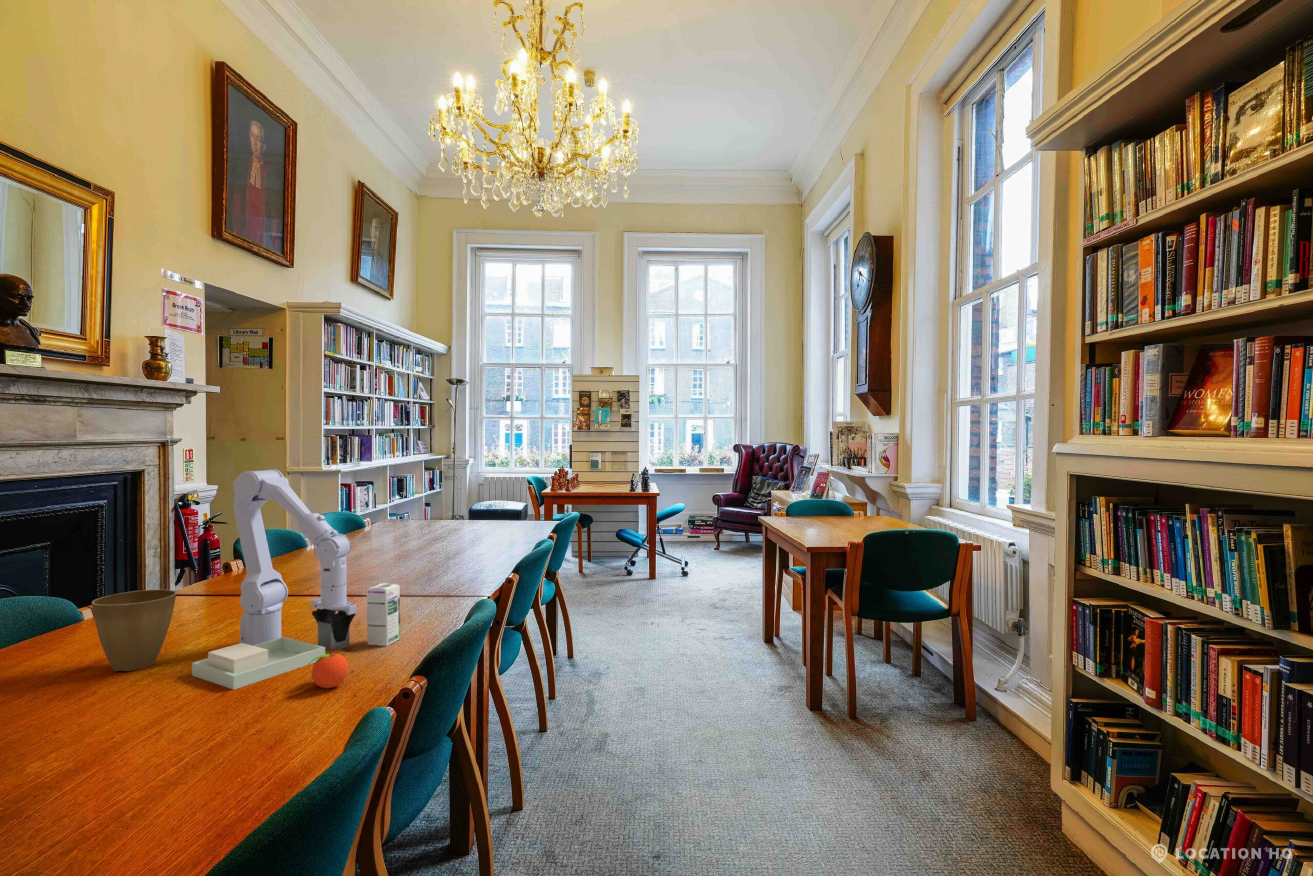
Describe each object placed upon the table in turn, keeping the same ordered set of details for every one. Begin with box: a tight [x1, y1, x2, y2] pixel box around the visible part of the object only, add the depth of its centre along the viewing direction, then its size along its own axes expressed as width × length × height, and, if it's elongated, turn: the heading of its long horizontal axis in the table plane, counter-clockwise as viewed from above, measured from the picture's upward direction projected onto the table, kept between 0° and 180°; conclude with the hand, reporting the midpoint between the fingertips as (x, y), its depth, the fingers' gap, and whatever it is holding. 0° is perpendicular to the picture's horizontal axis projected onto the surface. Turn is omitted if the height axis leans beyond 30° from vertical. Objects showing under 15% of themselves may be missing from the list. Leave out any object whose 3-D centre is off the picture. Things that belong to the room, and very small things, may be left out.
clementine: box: [307, 652, 349, 689], centre depth 131 cm, size 8×7×7 cm
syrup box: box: [366, 582, 402, 647], centre depth 160 cm, size 6×6×14 cm
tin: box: [317, 618, 350, 651], centre depth 155 cm, size 5×5×7 cm
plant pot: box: [91, 589, 177, 672], centre depth 143 cm, size 15×15×16 cm
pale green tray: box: [191, 636, 326, 691], centre depth 141 cm, size 16×20×4 cm
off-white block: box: [207, 642, 268, 674], centre depth 136 cm, size 10×7×5 cm
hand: (333, 639), depth 155 cm, fingers closed on tin, 5 cm apart
